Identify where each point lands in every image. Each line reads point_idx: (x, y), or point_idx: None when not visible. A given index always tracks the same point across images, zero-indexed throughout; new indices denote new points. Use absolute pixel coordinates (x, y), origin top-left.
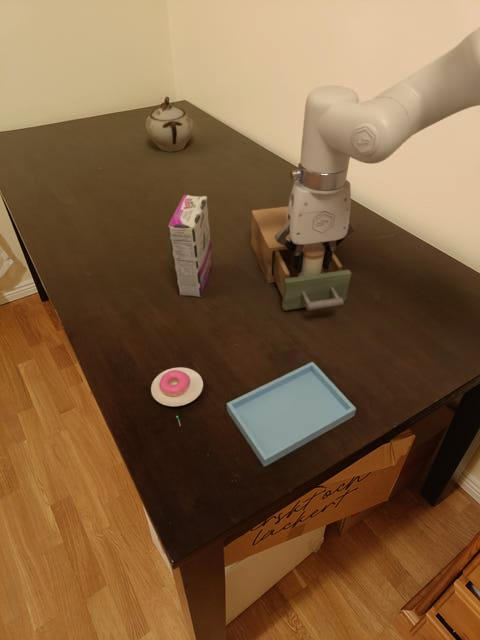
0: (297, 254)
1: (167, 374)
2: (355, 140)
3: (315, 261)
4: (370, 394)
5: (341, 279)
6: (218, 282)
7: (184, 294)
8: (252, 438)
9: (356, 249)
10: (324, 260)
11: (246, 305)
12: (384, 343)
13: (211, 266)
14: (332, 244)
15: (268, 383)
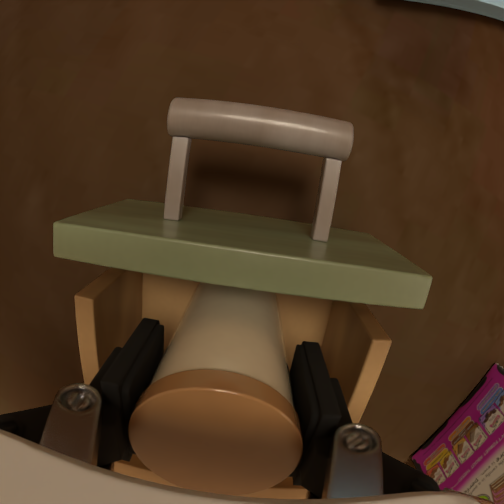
0: (350, 432)
1: None
2: None
3: (230, 360)
4: None
5: (112, 222)
6: (438, 405)
7: None
8: None
9: (33, 393)
10: (151, 363)
11: (436, 308)
12: (120, 9)
13: (423, 451)
14: (74, 424)
15: (500, 5)
